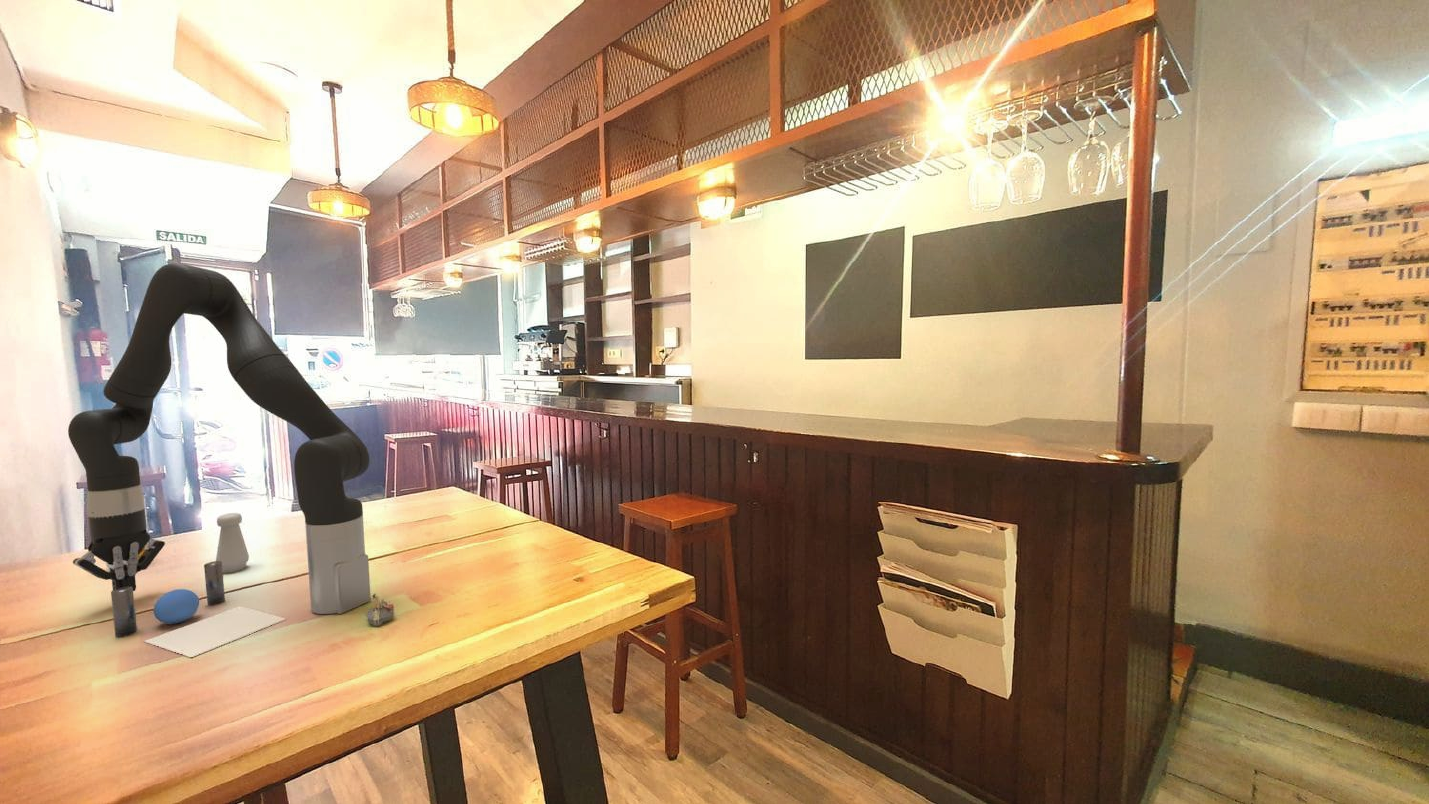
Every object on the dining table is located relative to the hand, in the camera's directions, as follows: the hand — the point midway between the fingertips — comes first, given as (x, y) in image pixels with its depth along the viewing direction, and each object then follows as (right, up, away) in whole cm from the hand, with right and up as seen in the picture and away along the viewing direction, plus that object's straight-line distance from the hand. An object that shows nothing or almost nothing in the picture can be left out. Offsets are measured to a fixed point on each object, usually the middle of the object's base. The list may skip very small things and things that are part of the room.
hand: (125, 595), depth 109 cm
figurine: (+56, -2, -8) cm, 57 cm away
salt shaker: (+7, 0, +17) cm, 18 cm away
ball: (+18, +1, -8) cm, 20 cm away
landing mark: (+29, -2, -11) cm, 31 cm away
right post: (+18, -1, 0) cm, 18 cm away
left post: (+13, -2, -12) cm, 18 cm away
